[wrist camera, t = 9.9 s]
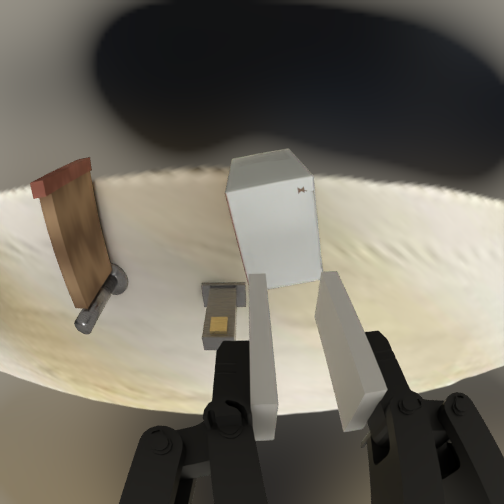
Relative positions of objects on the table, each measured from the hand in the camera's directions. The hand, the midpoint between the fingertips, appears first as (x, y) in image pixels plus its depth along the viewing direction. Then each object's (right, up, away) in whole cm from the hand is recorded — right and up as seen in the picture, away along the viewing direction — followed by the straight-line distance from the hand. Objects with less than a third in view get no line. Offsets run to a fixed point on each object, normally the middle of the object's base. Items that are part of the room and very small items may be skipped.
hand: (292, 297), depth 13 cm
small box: (0, +8, +15) cm, 17 cm away
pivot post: (-19, -1, +19) cm, 27 cm away
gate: (-19, +6, +15) cm, 25 cm away
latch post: (-5, -2, +20) cm, 21 cm away
